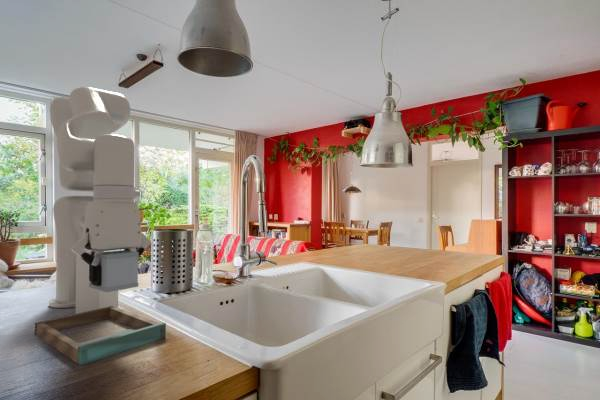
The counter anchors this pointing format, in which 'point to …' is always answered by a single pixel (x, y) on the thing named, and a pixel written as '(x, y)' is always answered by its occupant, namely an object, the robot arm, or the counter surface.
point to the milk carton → (90, 290)
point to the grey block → (118, 270)
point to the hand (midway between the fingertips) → (113, 281)
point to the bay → (101, 346)
